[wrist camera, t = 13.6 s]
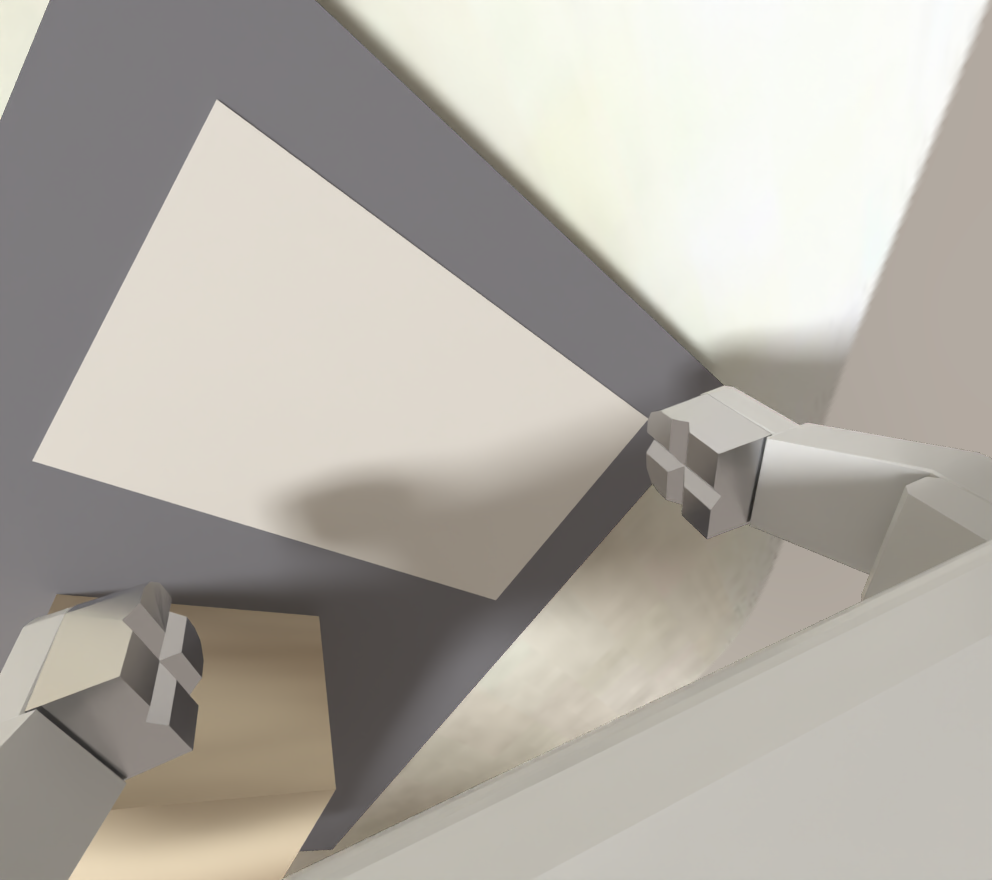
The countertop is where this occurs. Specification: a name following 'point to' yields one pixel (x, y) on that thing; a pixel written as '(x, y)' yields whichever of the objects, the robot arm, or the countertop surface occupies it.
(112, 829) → the block
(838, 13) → the countertop surface
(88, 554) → the mat
